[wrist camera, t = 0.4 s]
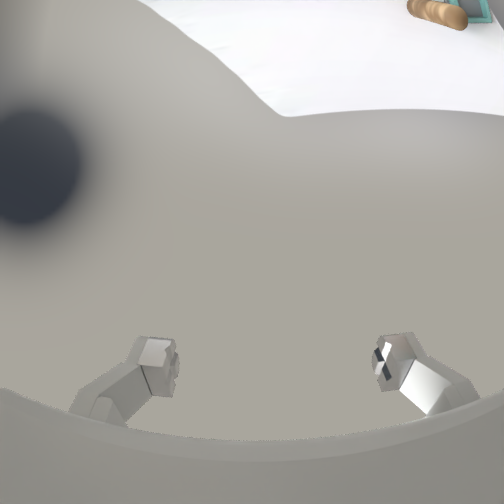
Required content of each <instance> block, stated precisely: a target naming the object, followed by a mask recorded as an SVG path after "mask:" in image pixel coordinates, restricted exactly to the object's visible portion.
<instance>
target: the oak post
mask: <svg viewBox="0 0 504 504" xmlns="http://www.w3.org/2000/svg"><path fill="white" fill-rule="evenodd" d="M407 9H408V11H409V13H410V14H411V15H413V16H414V17H417V18H421V19H424V20H428V21H431V22H435V23H438V24H441V25H444V26H447V27H450V28H453V29H455V30H459V31H462V30H464V29H465V28H466V27H467V25H468V17H467V14H466V13H465V11H464V10H463V9H462V8H461V7H459V6H456V5H451V4H447V3H442V2H437V1H432V0H408V2H407Z"/></svg>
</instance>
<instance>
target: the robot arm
mask: <svg viewBox="0 0 504 504" xmlns="http://www.w3.org/2000/svg"><path fill="white" fill-rule="evenodd" d="M377 345H378V348H377V349H376V350H374V353H373V356H372V367H373V370H374V372H375V373H376V374H377V375H379V377H378V380H377V381H378V383H379V386H380V388H381V391H382V392H384V391H391V390H397V389H400V391H401V392H402V393H403V394H404V395H406V396H407V397H408V398H409V399H410V400H411V401H412V402H413V403H414V404H416V405H417V406H418V407H419V408H420V409H421V410H422V411H423V412H425V413H426V416H425V417H424V418H422V419H419V420H415V421H411V422H407V423H403V424H399V425H394V426H390V427H385V428H380V429H375V430H371V431H364V432H358V433H352V434H345V435H338V436H330V437H321V438H310V439H296V440H274V441H240V440H238V441H237V440H216V439H203V438H192V437H183V436H174V435H167V434H160V433H154V432H148V431H142V430H137V429H132V428H128V426H127V424H126V423H125V422H126V421H127V420H128V419H129V418H130V417H131V416H132V415H133V414H135V413H136V412H137V411H138V410H139V409H140V408H141V407H142V406H143V405H144V404H145V403H146V402H147V401H148V400H149V399H150V398H151V397H152V395H153V396H162V397H173V393H174V389H175V381H174V379H175V378H176V377H177V376H178V373H179V356H178V354H177V353H176V352H175V349H176V343H175V340H174V339H168V338H158V337H146V336H137V337H136V339H135V341H134V343H133V345H132V347H131V349H130V351H129V354H128V356H127V358H126V360H125V362H124V363H120V364H118V365H117V366H115V367H114V368H112V369H111V370H109V371H108V372H106V373H104V374H103V375H101V376H100V377H98V378H97V379H95V380H94V381H92V382H91V383H89V384H88V385H86V386H84V387H83V388H81V389H80V390H79V391H78V393H77V395H76V397H75V399H74V401H73V403H72V405H71V407H70V409H69V411H68V412H66V411H63V410H60V409H57V408H54V407H51V406H49V405H46V404H43V403H40V402H38V401H35V400H33V399H30V398H28V397H25V396H23V395H20V394H18V393H16V392H14V391H12V390H9V389H7V388H0V504H504V389H502V390H500V391H497V392H495V393H493V394H491V395H488V396H486V397H484V398H480V397H479V395H478V393H477V391H476V390H475V388H474V386H473V384H472V383H471V381H470V380H469V379H468V378H466V377H464V376H463V375H461V374H459V373H458V372H456V371H454V370H453V369H451V368H449V367H448V366H446V365H444V364H443V363H441V362H439V361H438V360H436V359H434V358H433V357H431V356H429V357H428V356H427V354H426V352H425V351H424V349H423V348H422V346H421V344H420V343H419V341H418V339H417V338H416V336H415V334H414V333H413V332H406V333H401V334H392V335H383V336H380V337H379V338H378V341H377Z"/></svg>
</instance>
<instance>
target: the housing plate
mask: <svg viewBox="0 0 504 504" xmlns="http://www.w3.org/2000/svg"><path fill="white" fill-rule="evenodd" d="M444 2H445V3H447V4H451V5H456V6H459V7H461V8H462V9H463V10H464V11H465V13H466V14H467V17H468V23H492V19H491V15H490V10H489V6H488V2H487V0H444Z"/></svg>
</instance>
